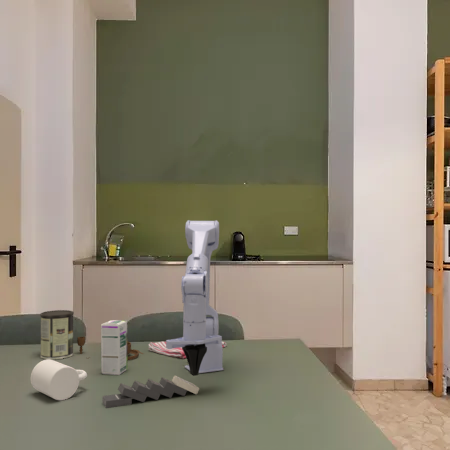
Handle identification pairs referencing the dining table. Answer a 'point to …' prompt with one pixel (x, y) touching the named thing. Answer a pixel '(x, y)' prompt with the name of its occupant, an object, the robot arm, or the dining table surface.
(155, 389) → the domino
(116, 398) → the domino
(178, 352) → the dish towel
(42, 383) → the mug
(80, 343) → the place setting
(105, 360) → the syrup box
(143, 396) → the domino
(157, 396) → the domino
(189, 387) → the domino
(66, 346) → the coffee can
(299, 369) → the dining table surface
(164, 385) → the domino
